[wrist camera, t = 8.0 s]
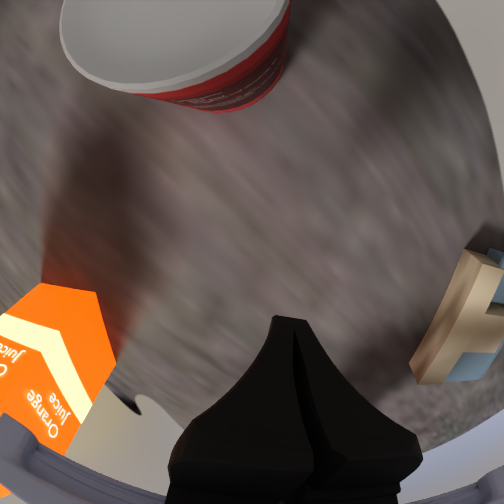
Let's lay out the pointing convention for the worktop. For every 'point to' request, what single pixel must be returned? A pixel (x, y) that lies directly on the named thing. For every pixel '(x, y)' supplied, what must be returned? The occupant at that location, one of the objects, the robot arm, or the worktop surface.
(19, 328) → the orange juice
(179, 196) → the worktop surface
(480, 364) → the dock
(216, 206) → the worktop surface
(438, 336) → the t block
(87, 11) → the canned food
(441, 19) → the worktop surface
